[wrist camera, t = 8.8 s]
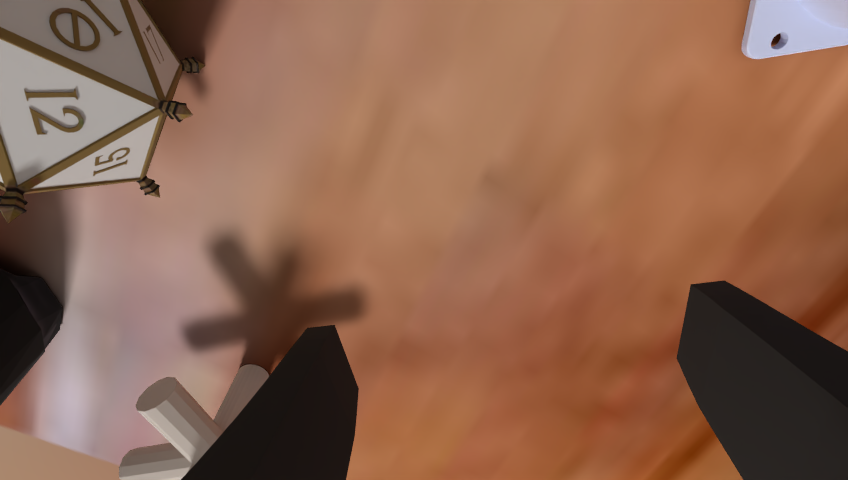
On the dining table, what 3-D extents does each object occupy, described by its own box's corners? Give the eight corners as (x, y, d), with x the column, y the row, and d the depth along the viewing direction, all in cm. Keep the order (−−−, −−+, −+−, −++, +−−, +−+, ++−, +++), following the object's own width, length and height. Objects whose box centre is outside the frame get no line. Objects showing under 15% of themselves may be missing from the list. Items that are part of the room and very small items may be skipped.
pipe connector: (291, 295, 22) (200, 496, 14) (361, 413, 28) (325, 612, 19) (131, 331, 24) (-34, 526, 16) (224, 434, 29) (137, 624, 21)
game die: (134, 43, 20) (-249, 41, 12) (172, -146, 14) (-521, -357, 7) (228, 215, 19) (-113, 315, 12) (309, 98, 13) (-269, 157, 6)
